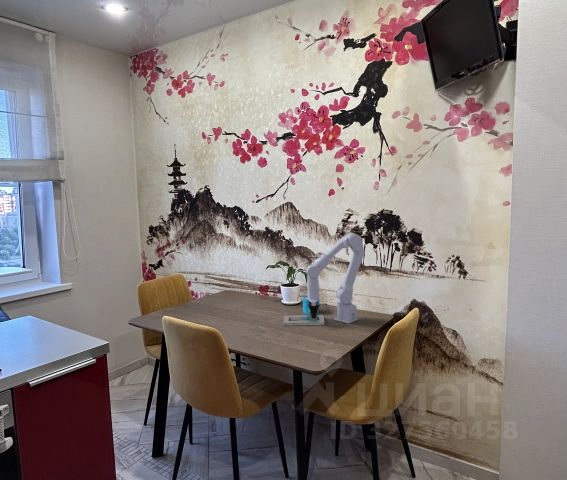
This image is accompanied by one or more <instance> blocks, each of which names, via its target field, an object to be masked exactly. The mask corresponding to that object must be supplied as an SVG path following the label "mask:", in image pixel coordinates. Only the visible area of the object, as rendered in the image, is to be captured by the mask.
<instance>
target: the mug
mask: <svg viewBox="0 0 567 480" xmlns="http://www.w3.org/2000/svg"><path fill="white" fill-rule="evenodd" d="M306 297H308V295H304V296H303V297H302V306H303V310H302V311H303V313H304V314H305V313H306V315H309V307H308V304H309V302H308V300H305V298H306ZM317 305H320V300H319V301H318V303H317ZM318 313H319V310H318V311H317V314H318Z"/></svg>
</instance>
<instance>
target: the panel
mask: <svg viewBox="0 0 567 480" xmlns="http://www.w3.org/2000/svg"><path fill="white" fill-rule="evenodd" d="M324 317H325V316H324V314H317V320H310V321H309V314H306V315H305V314H304V315H284V317H283V326H284V327H285V326H288V327H289V326H290V327H291V326H294V327H295V326H296V327H297V326H298V327H299V326H325V318H324Z"/></svg>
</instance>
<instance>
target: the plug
mask: <svg viewBox="0 0 567 480" xmlns="http://www.w3.org/2000/svg"><path fill="white" fill-rule="evenodd" d="M308 315H309V320H308V321H310V320H317V317H316V318H312V317H311V312H310V309H309V314H308Z"/></svg>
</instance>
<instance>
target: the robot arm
mask: <svg viewBox="0 0 567 480" xmlns="http://www.w3.org/2000/svg"><path fill="white" fill-rule="evenodd" d="M348 248H350V249H351V251H352V254H351V258H350V261H349V264H348V266H347V270H346V273H345V276H344V277H343V281H342V283H341V284H339V285H340V286H339V287H338V288H337V290H336V293H335V295H336V297H337V298H338V299H337V300H336V311H337V312H336V316H337V317H334V318H333V320H334V321H338V322H341V323H345V324H351V323H353V322H355V321H358V320H359V319H358V318H357V317H358V312H357V311H358V309H357V306H356V305H355V303H354V304H353V302H352V301H353V292H354V283H355V280H356V278H357V275H358V272H359V269H360V267H361V264H362V261H363V258H364V254H365V248H364V241H363V239H362V238H361V236H360V235H359V234H357V233H354V232H346V234H345V235H344V236H342V237H341V238H340V239H339V240H338V241H337V242H336V243H335V244H334V245H333V246H332V247H331V248H330V250H329V251H328V252H327V253H324V254H323V253H322V254H321V255H320V254H319V255H318V256H317V258H316V259H315V261H313V262H311V264H310V265H308V266H307V267H306V270H305V272H306V275H307V276H306V278H307V280H306V284H307V285H306V288H307V293H306V294H307V296H308V297H306V298H305V300H308V302H309V304H308V307H309V309H310V312H311V317H312V318H316V317H317V315H318V313H317V311H318V312H319V307H320V304H319V305H317V303H318V301H319V302H320V286H319V285H320V284H319V283H320V281H319V276H320V273H321V272H322V271H323V270H324V269H325V268H326V267H327V266H329V264H330V263H331V259H333V257H334V256H336V255H337V254H338V253H340V252H341V251H342V250H343V249H348Z"/></svg>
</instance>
